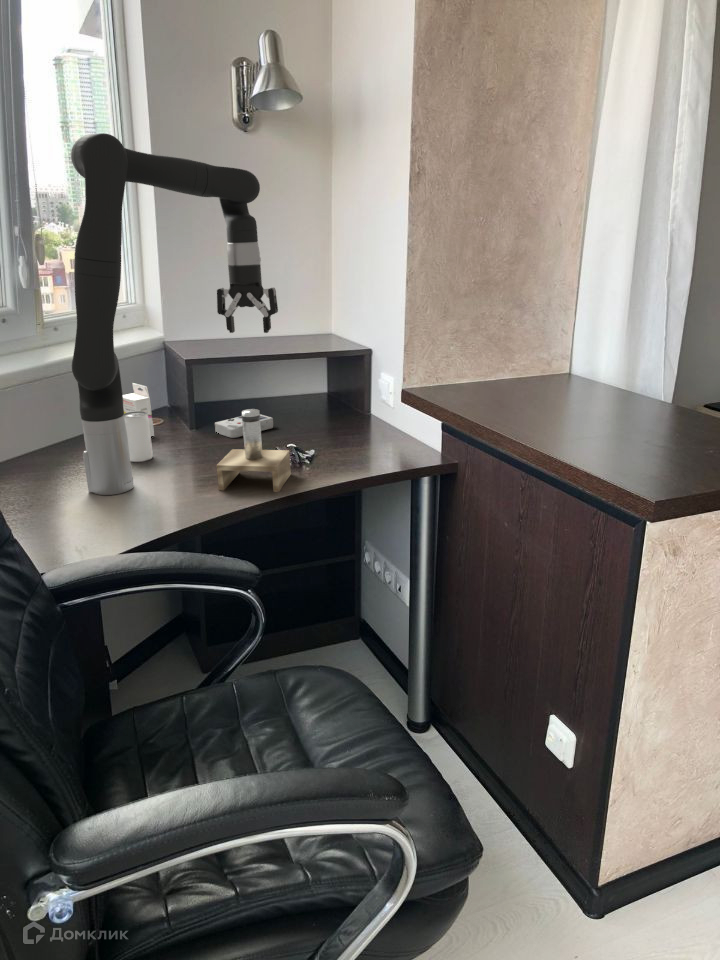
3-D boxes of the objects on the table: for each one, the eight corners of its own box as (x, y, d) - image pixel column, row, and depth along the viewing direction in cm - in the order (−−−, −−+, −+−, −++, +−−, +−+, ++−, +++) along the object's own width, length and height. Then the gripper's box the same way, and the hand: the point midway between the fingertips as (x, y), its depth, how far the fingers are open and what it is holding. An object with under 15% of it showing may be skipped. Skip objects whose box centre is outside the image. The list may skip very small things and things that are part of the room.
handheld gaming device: (215, 434, 216) (214, 421, 215) (256, 424, 226) (255, 411, 224) (232, 440, 210) (231, 427, 209) (274, 429, 220) (273, 417, 218)
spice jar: (242, 460, 173) (239, 413, 169) (247, 454, 176) (244, 408, 173) (260, 460, 172) (256, 413, 168) (264, 454, 176) (261, 409, 172)
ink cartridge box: (123, 435, 216) (117, 385, 211) (139, 431, 220) (132, 382, 215) (140, 441, 211) (133, 389, 206) (155, 437, 214) (149, 386, 209)
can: (122, 459, 195) (116, 414, 191) (144, 453, 199) (138, 409, 195) (136, 464, 191) (130, 418, 187) (158, 458, 195) (152, 413, 191)
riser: (218, 490, 172) (216, 465, 170) (234, 472, 183) (232, 449, 181) (278, 491, 170) (276, 466, 168) (290, 474, 181) (289, 450, 179)
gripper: (209, 264, 174) (215, 335, 179) (269, 263, 172) (274, 334, 177) (219, 262, 181) (225, 330, 186) (277, 261, 179) (281, 330, 184)
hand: (249, 332), depth 182 cm, fingers open, 8 cm apart
